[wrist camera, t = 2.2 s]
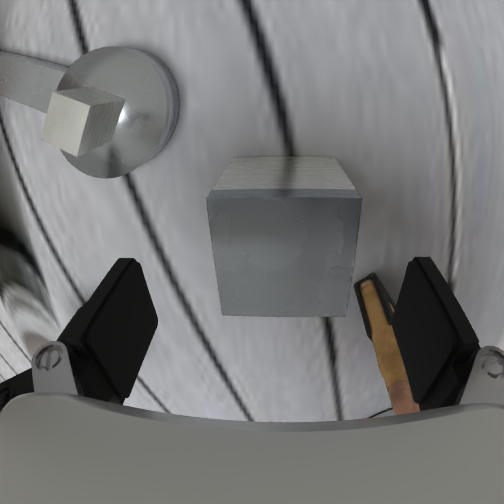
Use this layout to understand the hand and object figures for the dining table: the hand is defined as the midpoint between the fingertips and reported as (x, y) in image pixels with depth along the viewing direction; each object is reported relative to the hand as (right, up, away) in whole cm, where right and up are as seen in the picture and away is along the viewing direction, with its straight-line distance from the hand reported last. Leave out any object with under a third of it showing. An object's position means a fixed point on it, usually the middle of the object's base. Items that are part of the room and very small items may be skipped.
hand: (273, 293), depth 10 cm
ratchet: (-17, +15, +5) cm, 23 cm away
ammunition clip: (+11, -4, +13) cm, 17 cm away
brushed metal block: (+1, +4, +9) cm, 10 cm away
